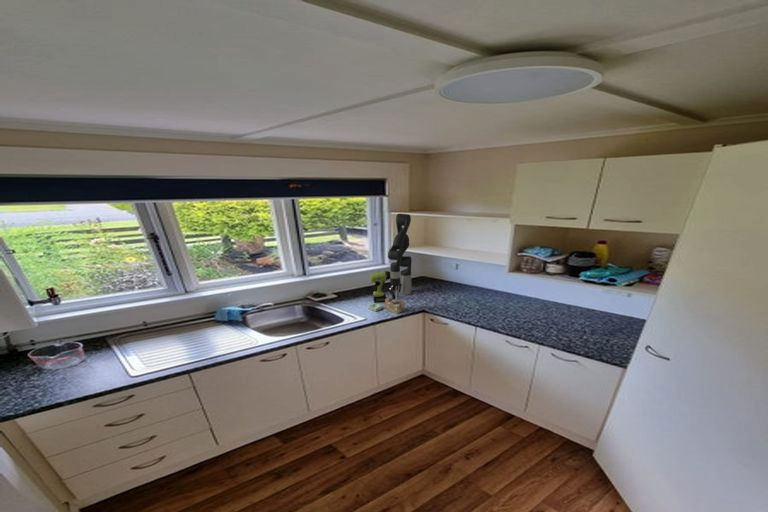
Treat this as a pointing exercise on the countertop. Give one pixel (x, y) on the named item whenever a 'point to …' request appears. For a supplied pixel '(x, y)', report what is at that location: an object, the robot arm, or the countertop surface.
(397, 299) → the steel bit
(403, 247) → the robot arm
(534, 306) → the countertop surface
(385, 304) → the drift key
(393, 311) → the socket block
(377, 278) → the cordless drill
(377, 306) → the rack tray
